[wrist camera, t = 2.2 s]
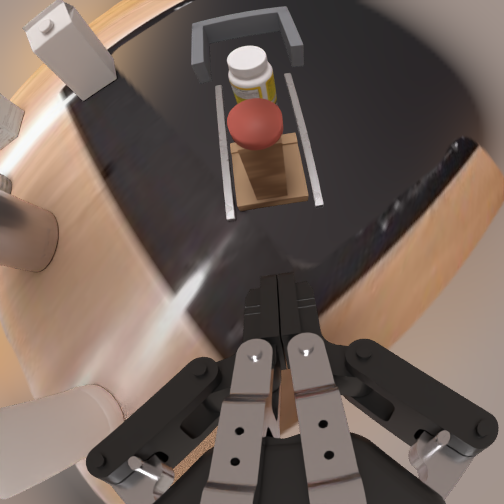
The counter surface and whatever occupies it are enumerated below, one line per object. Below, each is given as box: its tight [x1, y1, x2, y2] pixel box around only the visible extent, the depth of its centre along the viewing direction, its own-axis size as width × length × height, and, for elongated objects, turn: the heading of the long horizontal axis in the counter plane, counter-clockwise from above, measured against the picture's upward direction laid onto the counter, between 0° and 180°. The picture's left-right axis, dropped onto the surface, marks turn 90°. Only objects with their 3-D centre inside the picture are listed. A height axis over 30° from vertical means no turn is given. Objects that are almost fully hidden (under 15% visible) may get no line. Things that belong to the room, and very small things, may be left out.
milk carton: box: [23, 0, 117, 101], centre depth 30 cm, size 7×7×19 cm
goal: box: [191, 7, 304, 84], centre depth 33 cm, size 14×11×4 cm
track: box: [215, 73, 323, 221], centre depth 31 cm, size 10×18×1 cm, turn 7°
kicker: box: [227, 98, 308, 211], centre depth 24 cm, size 7×7×13 cm
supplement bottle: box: [227, 46, 277, 105], centre depth 28 cm, size 5×5×8 cm
